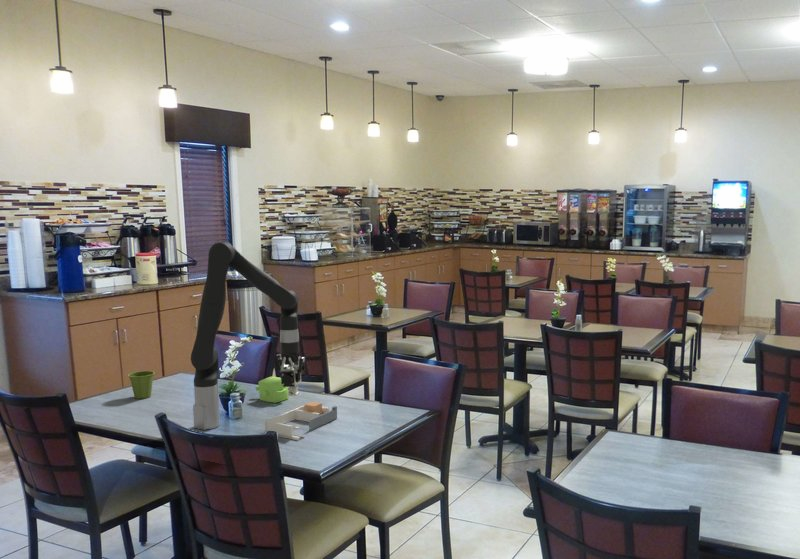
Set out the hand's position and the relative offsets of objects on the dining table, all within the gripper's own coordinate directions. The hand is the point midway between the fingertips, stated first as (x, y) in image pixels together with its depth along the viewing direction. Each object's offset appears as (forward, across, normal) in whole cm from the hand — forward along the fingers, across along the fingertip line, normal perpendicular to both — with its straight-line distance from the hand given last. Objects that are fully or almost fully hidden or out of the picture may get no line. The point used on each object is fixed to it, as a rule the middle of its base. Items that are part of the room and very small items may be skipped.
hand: (291, 380), depth 277 cm
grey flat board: (+16, +14, +1) cm, 22 cm away
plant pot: (+18, -88, 0) cm, 90 cm away
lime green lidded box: (+18, -30, +23) cm, 42 cm away
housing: (+18, +7, -3) cm, 19 cm away
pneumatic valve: (+6, 0, 0) cm, 6 cm away
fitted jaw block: (+16, +6, +6) cm, 18 cm away
